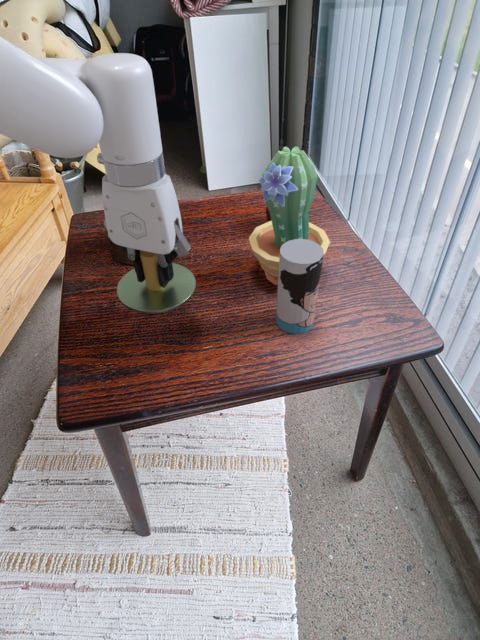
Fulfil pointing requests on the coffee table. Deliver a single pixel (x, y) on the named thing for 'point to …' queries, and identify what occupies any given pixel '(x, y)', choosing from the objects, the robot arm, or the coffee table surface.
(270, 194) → the potted cactus
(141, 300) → the lid
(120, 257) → the bowl
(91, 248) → the coffee table surface
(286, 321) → the white printed cylinder
